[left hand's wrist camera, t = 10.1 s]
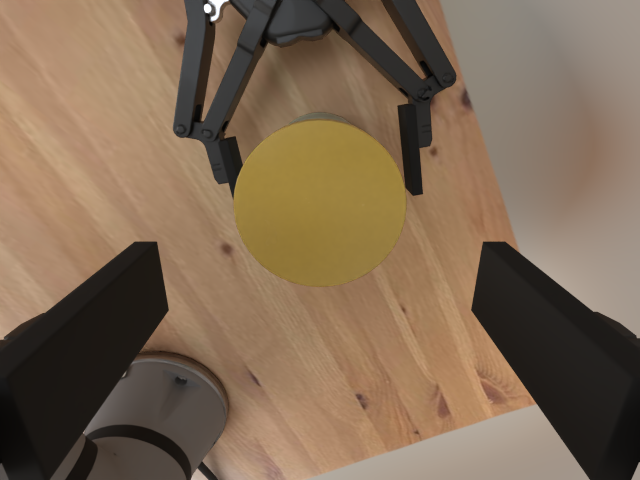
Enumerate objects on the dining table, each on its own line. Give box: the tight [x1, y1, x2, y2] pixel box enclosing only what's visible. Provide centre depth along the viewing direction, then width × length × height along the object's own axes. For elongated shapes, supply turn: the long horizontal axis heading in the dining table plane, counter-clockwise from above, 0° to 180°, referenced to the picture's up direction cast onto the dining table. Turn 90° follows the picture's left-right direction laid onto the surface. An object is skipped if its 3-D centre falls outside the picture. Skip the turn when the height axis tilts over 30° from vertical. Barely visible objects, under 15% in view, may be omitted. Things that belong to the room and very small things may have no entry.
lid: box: [234, 118, 406, 287], centre depth 21 cm, size 10×10×2 cm
